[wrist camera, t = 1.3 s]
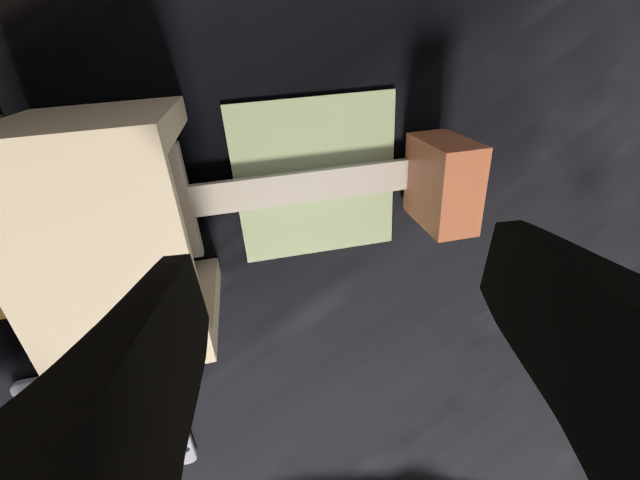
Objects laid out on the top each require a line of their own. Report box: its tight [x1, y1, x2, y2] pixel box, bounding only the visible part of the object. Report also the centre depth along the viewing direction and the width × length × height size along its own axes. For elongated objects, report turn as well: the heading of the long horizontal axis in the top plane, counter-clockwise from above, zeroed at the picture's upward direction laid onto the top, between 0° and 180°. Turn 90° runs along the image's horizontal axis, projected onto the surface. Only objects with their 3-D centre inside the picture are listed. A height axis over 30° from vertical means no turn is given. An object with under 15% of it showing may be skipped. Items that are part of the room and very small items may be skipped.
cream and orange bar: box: [168, 128, 493, 258], centre depth 17 cm, size 18×6×4 cm, turn 94°
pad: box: [221, 89, 396, 263], centre depth 19 cm, size 8×8×1 cm
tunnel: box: [0, 96, 221, 376], centre depth 15 cm, size 6×9×6 cm, turn 4°
